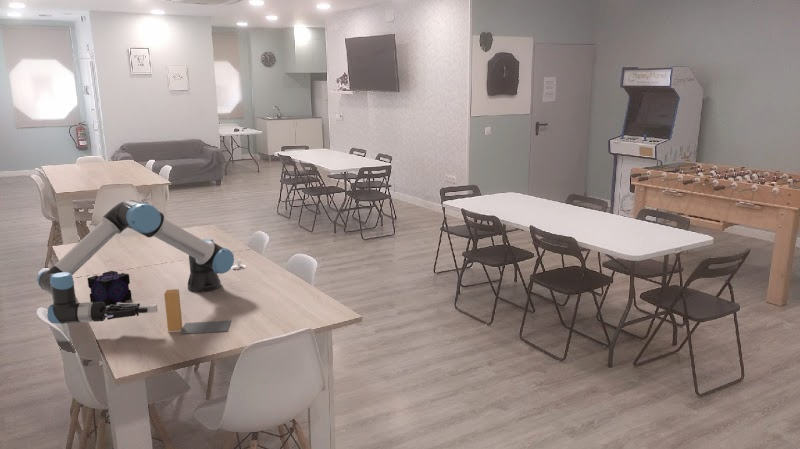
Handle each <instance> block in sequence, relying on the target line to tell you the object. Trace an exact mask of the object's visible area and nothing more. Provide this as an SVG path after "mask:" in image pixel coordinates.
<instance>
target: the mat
mask: <svg viewBox="0 0 800 449" xmlns="http://www.w3.org/2000/svg"><path fill="white" fill-rule="evenodd" d="M231 322H232V319H231V320H230V319H229V320H228V319H227V320H214V321H213V320H212V321H197V322H185V323H184V325H182V329H181V331H180V332H179V335H195V334H196V335H197V334H212V333H213V334H214V333H227V332H228V331H229V328H230V325H231Z"/></svg>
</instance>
